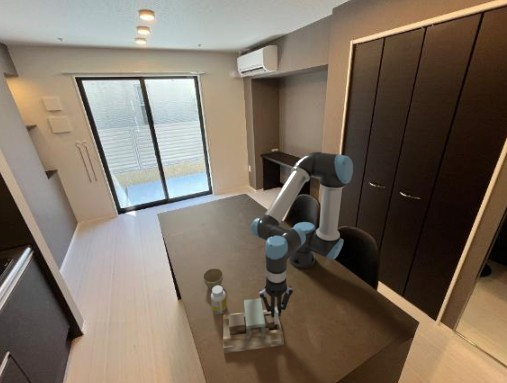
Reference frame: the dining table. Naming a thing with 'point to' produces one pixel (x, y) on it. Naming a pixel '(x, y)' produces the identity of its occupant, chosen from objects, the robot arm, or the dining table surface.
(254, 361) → the dining table surface
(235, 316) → the tan wooden bar
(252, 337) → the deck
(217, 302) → the pill bottle
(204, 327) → the dining table surface
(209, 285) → the flower pot
